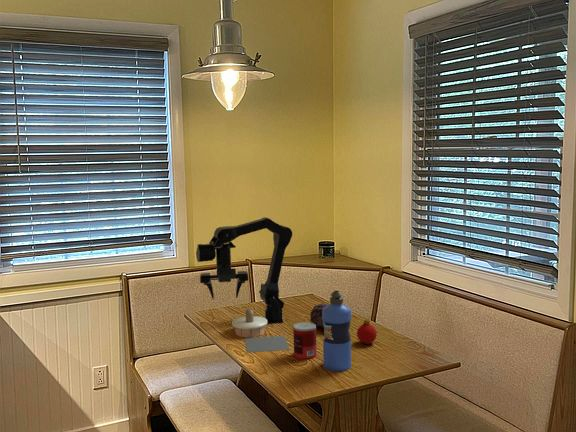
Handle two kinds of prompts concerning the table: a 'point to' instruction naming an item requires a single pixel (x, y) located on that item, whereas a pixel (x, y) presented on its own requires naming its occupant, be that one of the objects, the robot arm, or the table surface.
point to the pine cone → (317, 315)
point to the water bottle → (336, 334)
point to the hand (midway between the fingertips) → (224, 298)
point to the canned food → (304, 340)
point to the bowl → (249, 332)
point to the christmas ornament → (366, 332)
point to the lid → (249, 321)
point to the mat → (266, 344)
